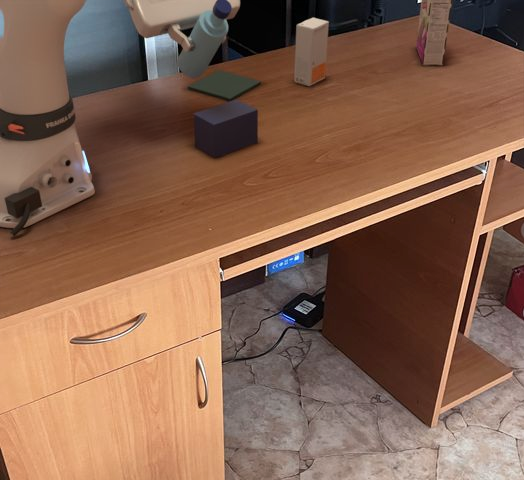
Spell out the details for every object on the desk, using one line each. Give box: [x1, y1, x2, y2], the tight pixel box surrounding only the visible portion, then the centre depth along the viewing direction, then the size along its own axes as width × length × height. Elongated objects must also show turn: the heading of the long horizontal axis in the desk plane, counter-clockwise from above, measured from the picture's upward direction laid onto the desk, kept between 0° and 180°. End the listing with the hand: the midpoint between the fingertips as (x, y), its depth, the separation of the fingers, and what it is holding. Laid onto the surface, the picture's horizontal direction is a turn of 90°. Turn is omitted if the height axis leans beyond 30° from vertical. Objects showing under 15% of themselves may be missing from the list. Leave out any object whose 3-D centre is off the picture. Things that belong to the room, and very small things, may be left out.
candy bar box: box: [415, 0, 453, 67], centre depth 173 cm, size 11×5×16 cm, turn 179°
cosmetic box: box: [293, 17, 330, 87], centre depth 164 cm, size 6×4×12 cm
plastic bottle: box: [177, 0, 232, 79], centre depth 136 cm, size 14×5×14 cm, turn 38°
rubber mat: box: [187, 69, 262, 102], centre depth 165 cm, size 11×11×1 cm
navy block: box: [192, 98, 259, 159], centre depth 142 cm, size 6×10×6 cm, turn 130°
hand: (206, 45), depth 136 cm, fingers closed on plastic bottle, 5 cm apart
